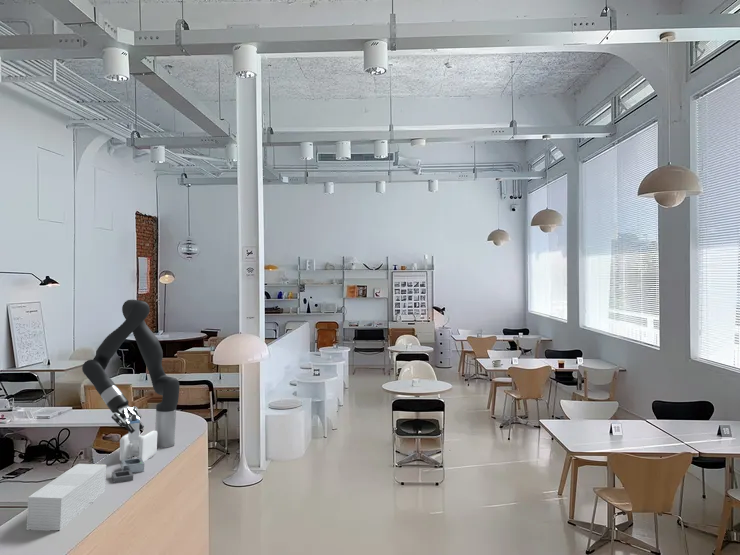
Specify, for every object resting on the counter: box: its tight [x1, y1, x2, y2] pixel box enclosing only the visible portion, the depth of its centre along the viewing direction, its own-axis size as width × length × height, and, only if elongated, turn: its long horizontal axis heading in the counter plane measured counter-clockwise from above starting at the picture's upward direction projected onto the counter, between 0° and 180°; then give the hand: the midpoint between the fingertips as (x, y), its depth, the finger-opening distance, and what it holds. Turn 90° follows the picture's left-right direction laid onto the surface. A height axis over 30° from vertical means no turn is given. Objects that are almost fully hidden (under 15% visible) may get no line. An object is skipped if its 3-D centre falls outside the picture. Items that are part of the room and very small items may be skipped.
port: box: [120, 457, 145, 474], centre depth 233 cm, size 8×8×4 cm
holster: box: [111, 470, 134, 484], centre depth 223 cm, size 7×7×2 cm
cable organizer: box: [119, 430, 158, 463], centre depth 248 cm, size 15×11×12 cm
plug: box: [127, 414, 141, 441], centre depth 233 cm, size 4×4×10 cm
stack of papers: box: [26, 463, 107, 531], centre depth 194 cm, size 32×11×11 cm, turn 1°
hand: (137, 430), depth 232 cm, fingers closed on plug, 5 cm apart
